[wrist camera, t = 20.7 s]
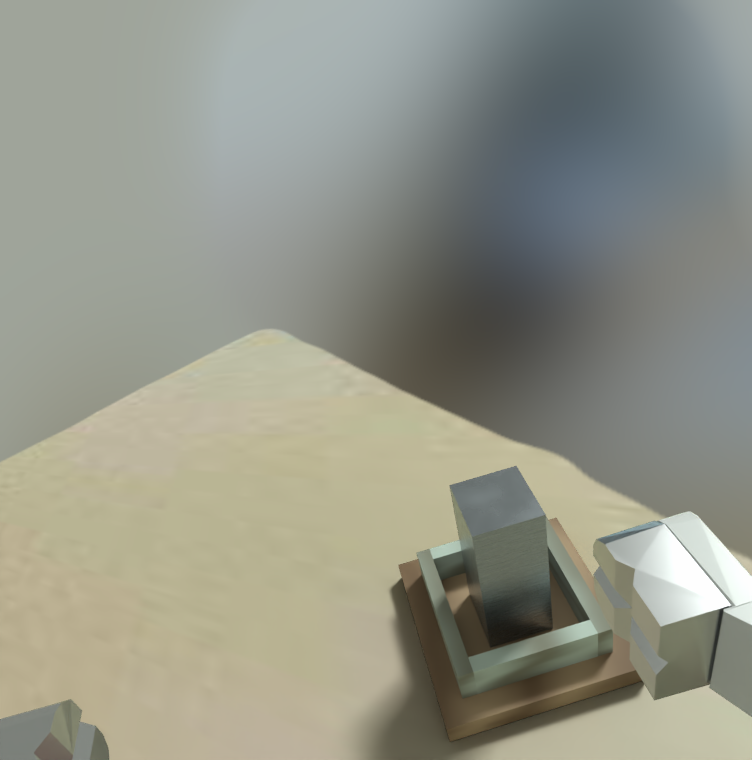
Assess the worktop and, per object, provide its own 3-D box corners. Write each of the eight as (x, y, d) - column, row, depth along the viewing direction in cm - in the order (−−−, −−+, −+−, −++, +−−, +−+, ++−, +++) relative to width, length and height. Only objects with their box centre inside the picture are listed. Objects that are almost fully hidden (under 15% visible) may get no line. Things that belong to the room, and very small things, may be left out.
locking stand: (449, 741, 39) (441, 708, 36) (401, 577, 49) (392, 543, 47) (646, 679, 39) (649, 642, 37) (556, 530, 50) (555, 495, 48)
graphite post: (490, 647, 42) (472, 536, 35) (469, 594, 45) (449, 485, 39) (553, 628, 42) (545, 515, 36) (527, 577, 45) (516, 465, 39)
